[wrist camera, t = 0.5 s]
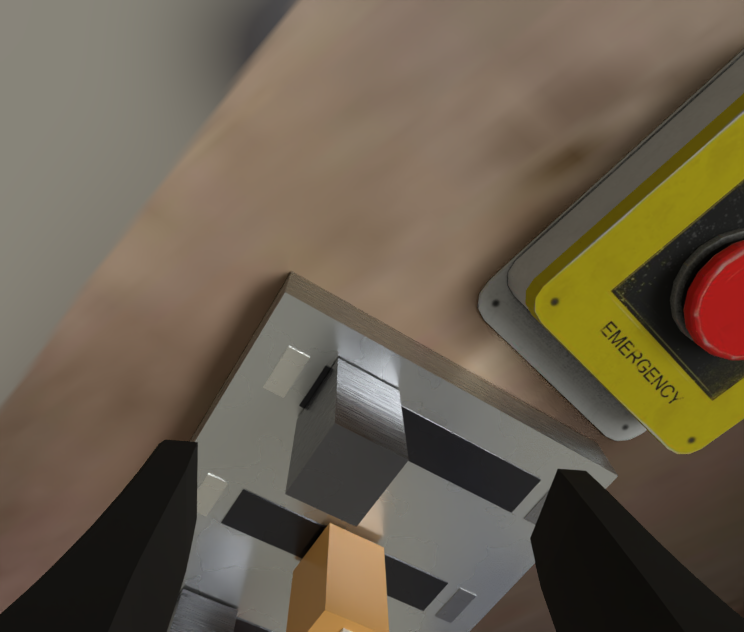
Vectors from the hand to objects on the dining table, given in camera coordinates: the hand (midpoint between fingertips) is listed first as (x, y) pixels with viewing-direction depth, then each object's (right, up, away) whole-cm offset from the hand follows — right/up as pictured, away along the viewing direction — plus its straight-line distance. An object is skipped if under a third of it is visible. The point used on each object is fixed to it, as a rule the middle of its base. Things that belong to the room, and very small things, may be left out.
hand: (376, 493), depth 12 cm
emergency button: (+12, +6, +9) cm, 16 cm away
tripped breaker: (-1, -6, +11) cm, 12 cm away
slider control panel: (-2, -5, +13) cm, 14 cm away
